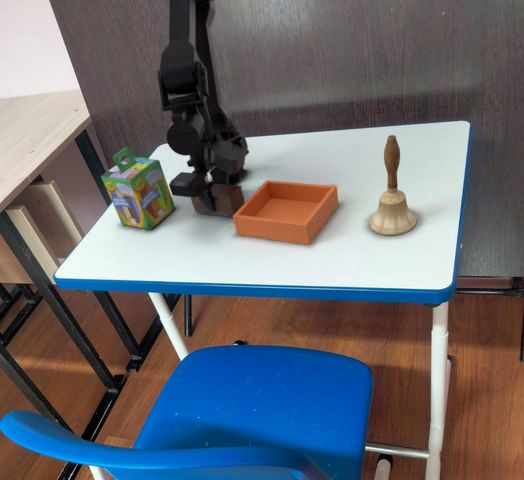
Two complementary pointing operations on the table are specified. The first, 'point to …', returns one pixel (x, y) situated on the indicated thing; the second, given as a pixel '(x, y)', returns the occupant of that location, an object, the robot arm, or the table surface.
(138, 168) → the chalk box
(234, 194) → the eraser
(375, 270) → the table surface
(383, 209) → the hand bell
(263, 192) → the tray
